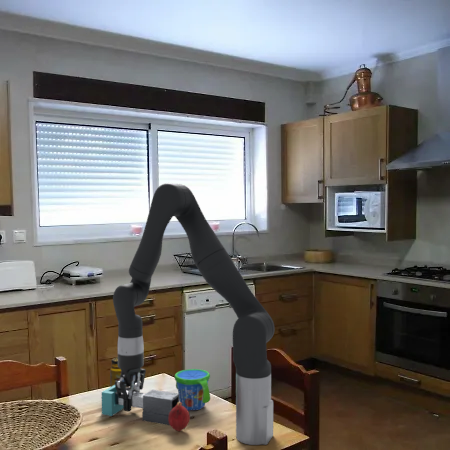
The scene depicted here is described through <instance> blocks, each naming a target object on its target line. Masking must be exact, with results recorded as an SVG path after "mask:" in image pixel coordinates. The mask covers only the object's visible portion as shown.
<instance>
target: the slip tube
mask: <svg viewBox="0 0 450 450" xmlns="http://www.w3.org/2000/svg"><path fill="white" fill-rule="evenodd" d="M126 391H127V390H126ZM146 393H147V392H141V391H140V392H134V391H132V393H131V408H137V409H143V395H145V394H146ZM127 394H128V391H127ZM115 404H117V405H123V399H122V398H119V397H118V394H117V392H116V393H115Z"/></svg>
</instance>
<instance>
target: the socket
mask: <svg viewBox="0 0 450 450" xmlns="http://www.w3.org/2000/svg"><path fill="white" fill-rule="evenodd" d="M116 392H117V390H116V387H115V385H113V386H112V387H111V386H110V387H108V388H107V389H105V390H102V391H101V397H102V398H101V415H104V416H110V417H112V416H114V415H116V414H117V413H119V412H120V411H122V410H124V408H123V405H117V404H115V393H116Z"/></svg>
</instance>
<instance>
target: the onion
mask: <svg viewBox="0 0 450 450" xmlns="http://www.w3.org/2000/svg"><path fill="white" fill-rule="evenodd" d="M181 404H182V403H181V402H180V401H179V402H178V403H177V405H176V406H175V407H174V408H173V409H172V410H171V411H170V413H169V417H168V421H169V424H170V425H169V426H170V427H171V428H172V429H173V430H174V431H176V432H179V433H180V432H182V430H184V429H185V428H186V427H187V426H188V425H189V424H190V419H191V418H190V417H191V416H190V413H189V411H188V410H187V409H186V408H185V407H184V406H182V405H181Z"/></svg>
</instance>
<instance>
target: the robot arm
mask: <svg viewBox="0 0 450 450" xmlns="http://www.w3.org/2000/svg"><path fill="white" fill-rule="evenodd" d="M173 217H175V219H176V220H177V221H178V222H179V224H180V225H181V227H182V228H183V231H184V232H185V234H186V236H187V239H188V243H189V249H190V254H191V258H192V260H193V262H194V265H195V267H196V268H197V270H198V271H199V273H200V274H201V276H202V278H203V279H204V280H205V282H206V284H208V285H209V286H210V287H211V288H212V290H214V291H215V292H216V293H218V294H219V295H220V296H221V297H222V298H223V299H224V300H225V301H226V302H227V303H228V305H230V306H231V308H232V310H233V311H234V314H236V315H235V316H236V317H237V319H236V320H235V322H234V324H233V329H232V357H233V363H234V366H235V396H236V397H235V437H236V439H237V441H239V442H241V443H242V444H245V445H250V446H251V445H252V446H260V445H268V444H269V442H271V439H272V438H273V437H274V400H273V399H272V364H271V362H270V361H269V360H268V356H267V355H268V354H267V344H268V342H270V341H271V339H272V338H273V336H274V334H275V323H274V320H273V318H272V317H271V315H270V314H269V313H268V311H267V310H266V309H265V308H264V306H263V305H262V303H260V301H259V300H258V299H257V297H256V296H255V295H254V293H253V292H252V290H251V289H250V288H249V286H248V284H247V282H246V280H245V279H244V278H243V276H242V274H241V272H240V271H239V270H238V268H237V266H236V264H235V262H234V261H233V259H232V258H231V256H230V255H229V252H228V251H227V250H226V248H225V247H224V245H223V244H222V243H221V241H220V239H219V238H218V235H217V234H216V233H215V231H214V230H213V228H212V226H211V225H210V224H209V222H208V221H207V219H206V216H205V215H204V213H203V211H202V209H201V207H200V205H199V203H198V201H197V199H196V197H195V195H194V193H193V191H192V190H191V189H190V188H189V187H188V186H186V185H184V184H182V183H172V182H171V183H170V182H168V183H167V182H166V183H163V184H161V185H159V186H158V187H157V188H156V189H155V191H154V194H153V196H152V200H151V204H150V207H149V210H148V215H147V218H146V223H145V227H144V230H143V233H142V235H141V238H140V239H141V240H140V242H139V244H138V247H137V250H136V252H135V254H134V255H133V258H132V260H131V263H130V265H129V268H128V275H129V276H130V277H131V279H130V282H129V283H125V284H121V285H119V286H117V287H116V288H115V289H114V292H113V295H112V303H113V307H114V312H115V315H116V319H117V323H118V326H117V327H118V328H117V330H118V333H117V334H118V338H117V357H118V367H119V368H120V369H121V376H120V377H121V378H120V380H119V381H115V387H116V390H117V394H118V397H119V398H122V399H123V411H125V412H131V411H132V407H131V393H132V391H134V392H140V393H141V391H142V390H143V388H144V383H145V377H146V371H147V369H146V368H143V367H144V363H145V361H144V358H145V355H144V353H145V352H144V351H145V350H144V347H145V346H144V338H143V318H142V316H140V315H139V314H136V312H135V310H136V309H135V307H137V306H140V305H142V304H143V303H144V302H145V301H146V299H147V297H148V296H149V292H150V287H151V284H152V283H151V282H152V277H153V275H154V273H155V270H156V269H157V266H158V264H159V262H160V259H161V256H162V249H163V240H164V239H163V238H164V235H165V232H166V230H167V227H168V225H169V223H170V222H171V220H172V218H173ZM126 386H129V387H126ZM126 390H127V391H128V394H127V391H126Z"/></svg>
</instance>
